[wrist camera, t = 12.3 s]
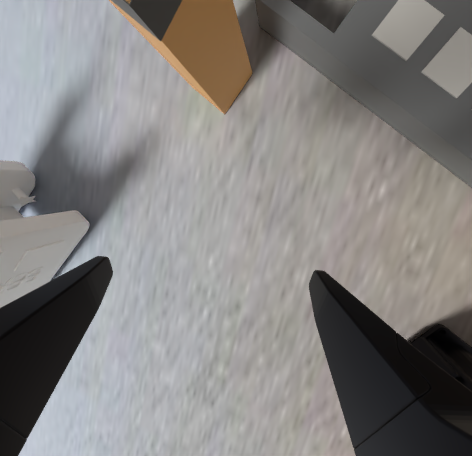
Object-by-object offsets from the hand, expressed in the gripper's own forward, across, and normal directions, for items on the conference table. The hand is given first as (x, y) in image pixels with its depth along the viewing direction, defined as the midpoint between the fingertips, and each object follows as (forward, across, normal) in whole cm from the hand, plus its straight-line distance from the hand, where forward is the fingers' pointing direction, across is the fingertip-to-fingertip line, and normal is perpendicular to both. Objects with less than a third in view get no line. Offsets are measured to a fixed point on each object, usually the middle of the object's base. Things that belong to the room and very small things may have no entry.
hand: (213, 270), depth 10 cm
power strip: (+13, -13, -9) cm, 21 cm away
